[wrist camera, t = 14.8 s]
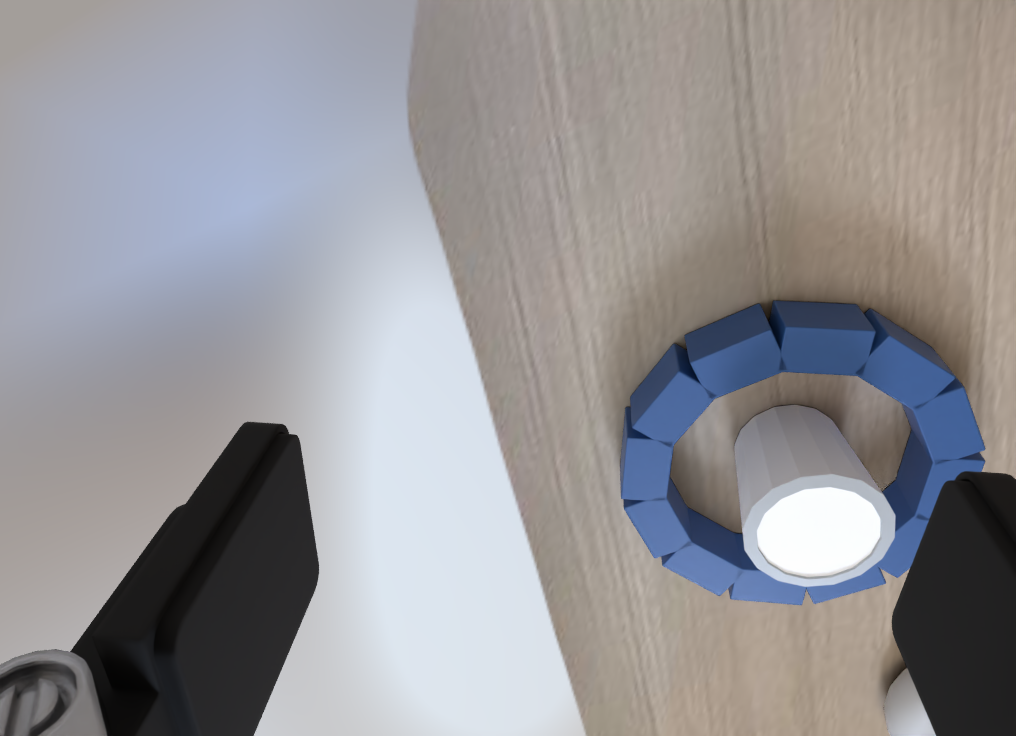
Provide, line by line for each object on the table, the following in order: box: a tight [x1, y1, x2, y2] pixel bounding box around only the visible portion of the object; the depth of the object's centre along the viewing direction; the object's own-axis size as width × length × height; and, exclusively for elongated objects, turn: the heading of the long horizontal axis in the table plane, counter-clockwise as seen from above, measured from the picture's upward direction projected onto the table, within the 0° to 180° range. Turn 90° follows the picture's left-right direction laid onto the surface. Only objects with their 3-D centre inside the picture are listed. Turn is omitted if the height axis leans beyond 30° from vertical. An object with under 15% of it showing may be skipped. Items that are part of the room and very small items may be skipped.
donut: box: [883, 668, 936, 736], centre depth 47 cm, size 10×4×10 cm
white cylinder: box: [734, 405, 895, 587], centre depth 38 cm, size 7×7×7 cm
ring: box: [620, 301, 985, 605], centre depth 40 cm, size 17×17×3 cm
